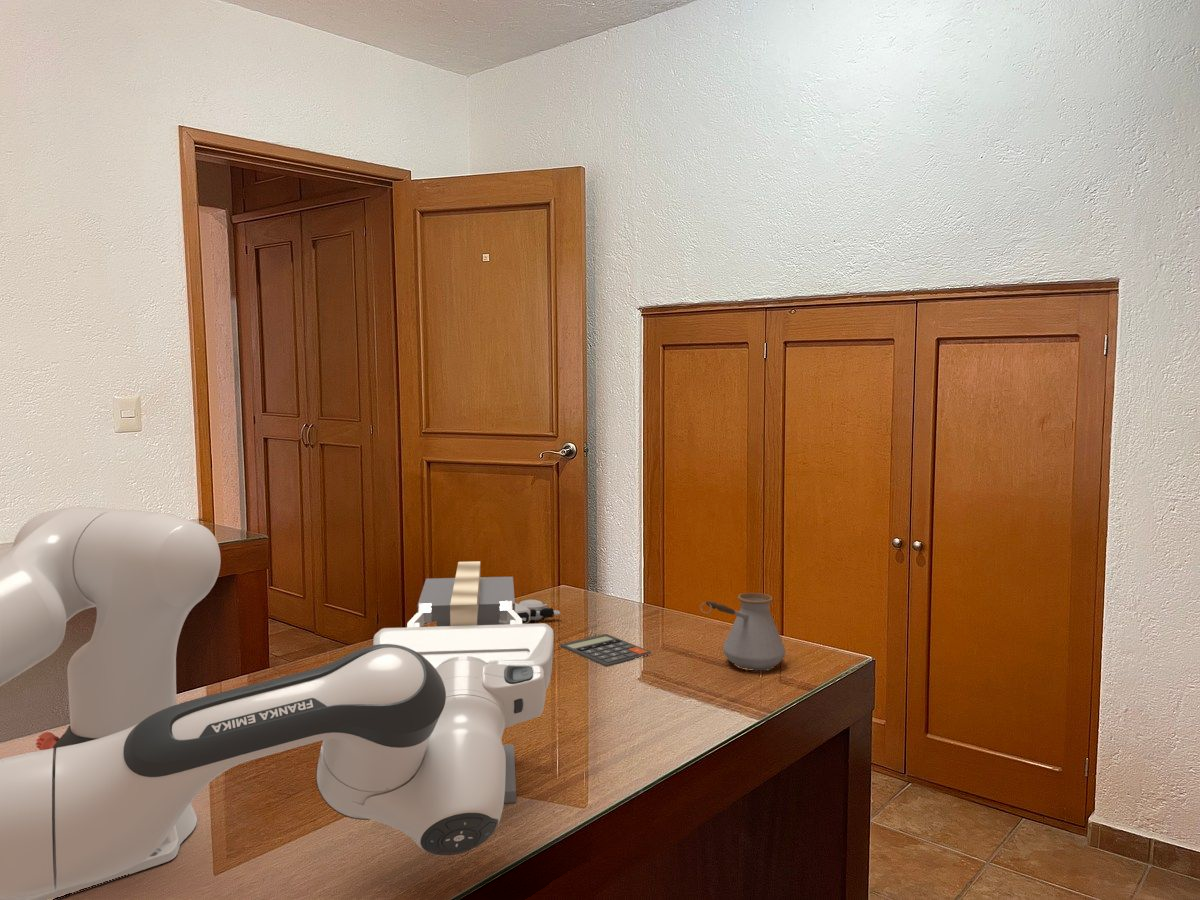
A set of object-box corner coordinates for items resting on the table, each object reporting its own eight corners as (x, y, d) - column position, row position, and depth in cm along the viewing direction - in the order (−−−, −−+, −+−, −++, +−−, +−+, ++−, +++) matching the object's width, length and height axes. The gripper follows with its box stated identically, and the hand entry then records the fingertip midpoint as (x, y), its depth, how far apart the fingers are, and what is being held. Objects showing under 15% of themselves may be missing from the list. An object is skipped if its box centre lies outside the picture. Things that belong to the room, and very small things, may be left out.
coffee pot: (745, 650, 174) (746, 575, 173) (797, 664, 166) (799, 585, 165) (677, 678, 159) (678, 595, 157) (730, 695, 151) (732, 608, 149)
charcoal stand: (515, 802, 114) (514, 603, 111) (420, 807, 113) (417, 606, 110) (513, 754, 128) (512, 576, 125) (428, 758, 126) (426, 578, 124)
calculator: (606, 664, 165) (559, 643, 176) (606, 668, 165) (559, 648, 176) (654, 651, 172) (605, 632, 183) (653, 656, 172) (605, 637, 184)
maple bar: (476, 625, 102) (476, 604, 102) (450, 626, 102) (450, 605, 101) (480, 579, 124) (480, 561, 123) (458, 579, 123) (458, 561, 123)
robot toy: (528, 614, 202) (473, 622, 192) (529, 594, 202) (474, 601, 192) (563, 626, 193) (507, 635, 183) (564, 605, 193) (509, 613, 183)
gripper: (365, 722, 96) (379, 626, 107) (556, 714, 98) (549, 621, 109) (360, 683, 92) (374, 588, 103) (558, 676, 94) (551, 584, 105)
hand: (466, 605), depth 106 cm, fingers open, 8 cm apart
